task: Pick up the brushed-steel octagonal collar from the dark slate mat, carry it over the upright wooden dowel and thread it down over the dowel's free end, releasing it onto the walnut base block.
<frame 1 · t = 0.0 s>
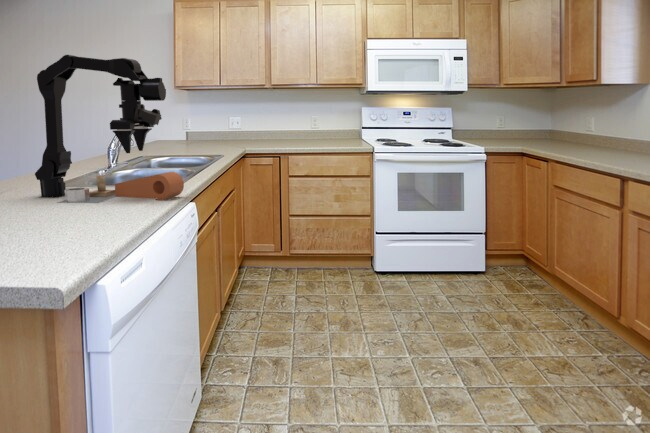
hand: (134, 152, 179), 15 cm above the countertop, fingers open, 9 cm apart
collar: (77, 200, 175), point 1 cm above the countertop, touching mat
post: (102, 195, 184), resting on mat
crank: (149, 197, 183), on the countertop, touching mat
mat: (91, 200, 179), on the countertop
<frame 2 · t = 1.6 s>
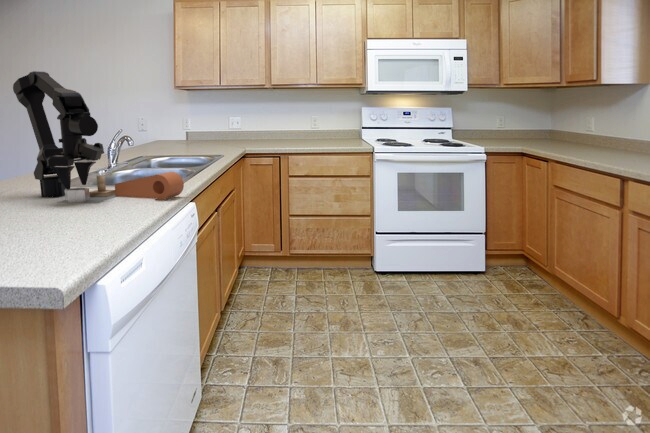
hand: (76, 186, 174), 5 cm above the countertop, fingers open, 9 cm apart
nothing on the countertop moved.
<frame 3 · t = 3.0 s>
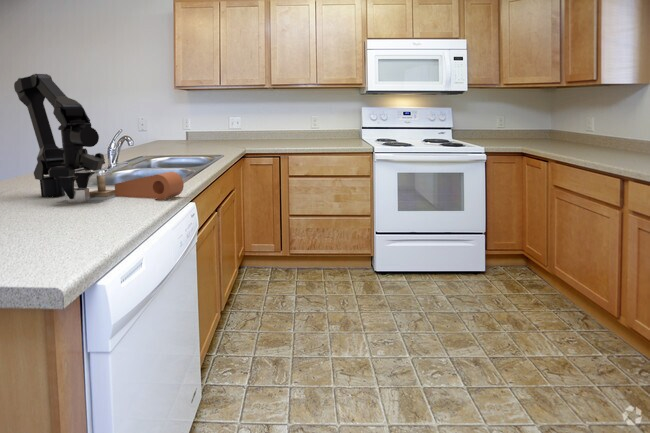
hand: (77, 197, 175), 2 cm above the countertop, fingers closed on collar, 6 cm apart
collar: (77, 200, 175), point 1 cm above the countertop, touching gripper, mat
everything else where it was.
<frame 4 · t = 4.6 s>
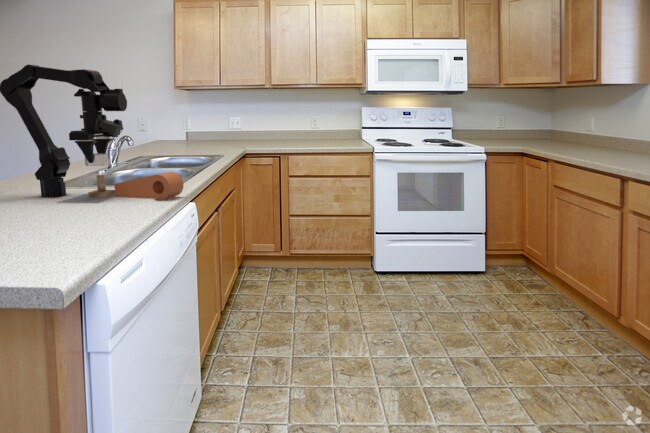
hand: (96, 161, 181), 12 cm above the countertop, fingers closed on collar, 6 cm apart
collar: (97, 165, 181), point 11 cm above the countertop, touching gripper
everything else where it was.
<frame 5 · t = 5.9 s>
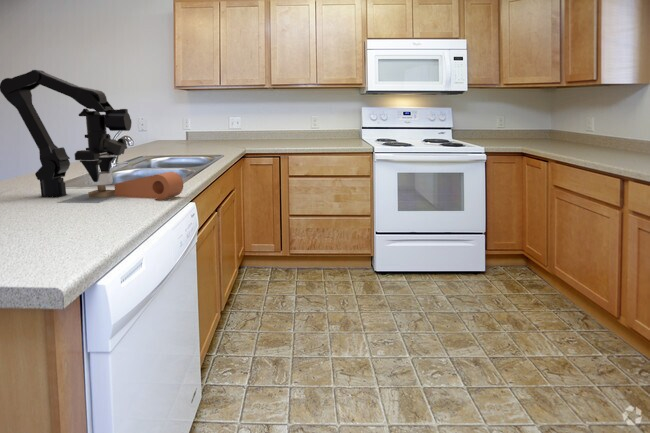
hand: (100, 180, 183), 6 cm above the countertop, fingers closed on collar, 6 cm apart
collar: (101, 183, 183), point 5 cm above the countertop, touching gripper
everything else where it was.
when the fingers open (5 cm above the countertop, at t = 6.7 s): collar drops 2 cm, resting on post.
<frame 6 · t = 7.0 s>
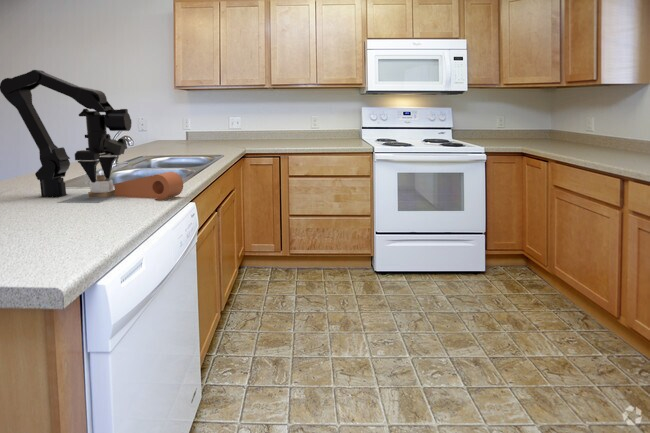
hand: (100, 180, 183), 5 cm above the countertop, fingers open, 9 cm apart
collar: (102, 191, 184), point 2 cm above the countertop, touching post
everything else where it was.
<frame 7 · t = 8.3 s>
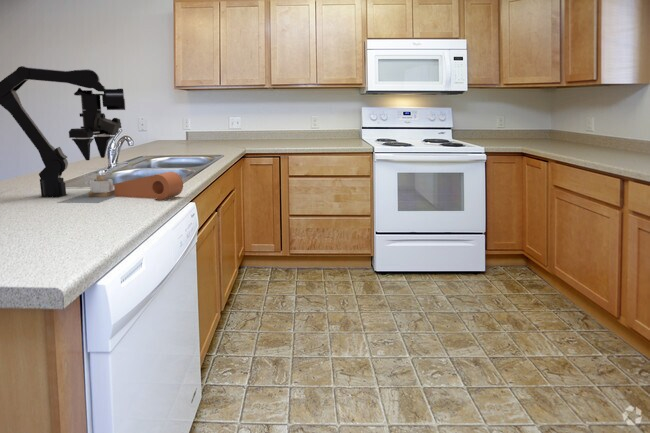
hand: (95, 159, 186), 12 cm above the countertop, fingers open, 9 cm apart
nothing on the countertop moved.
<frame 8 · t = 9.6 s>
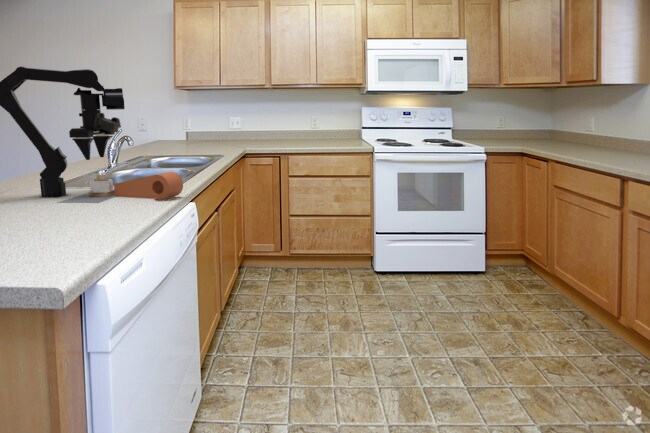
hand: (95, 158, 187), 12 cm above the countertop, fingers open, 9 cm apart
nothing on the countertop moved.
at the end: collar 0.0 cm off-centre on the post, point 1.5 cm above the post's base; collar tilted 0°; the gripper is holding nothing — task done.
